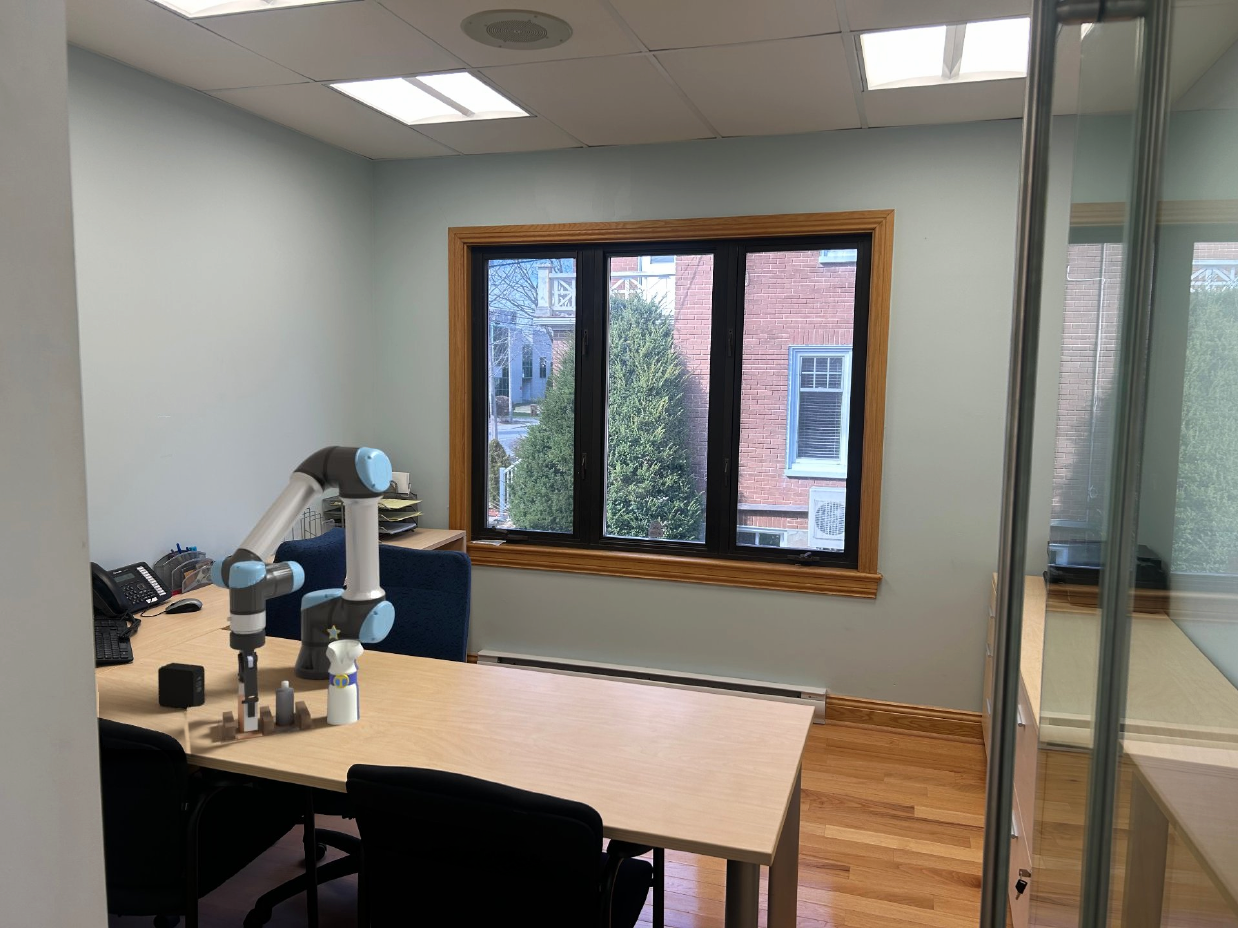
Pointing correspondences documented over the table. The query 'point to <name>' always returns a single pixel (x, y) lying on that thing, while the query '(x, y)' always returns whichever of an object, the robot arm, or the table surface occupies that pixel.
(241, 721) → the peach bottle
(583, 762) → the table surface
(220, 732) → the rack
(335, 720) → the white costume bottle
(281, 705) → the grey bottle
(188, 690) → the electronic device
